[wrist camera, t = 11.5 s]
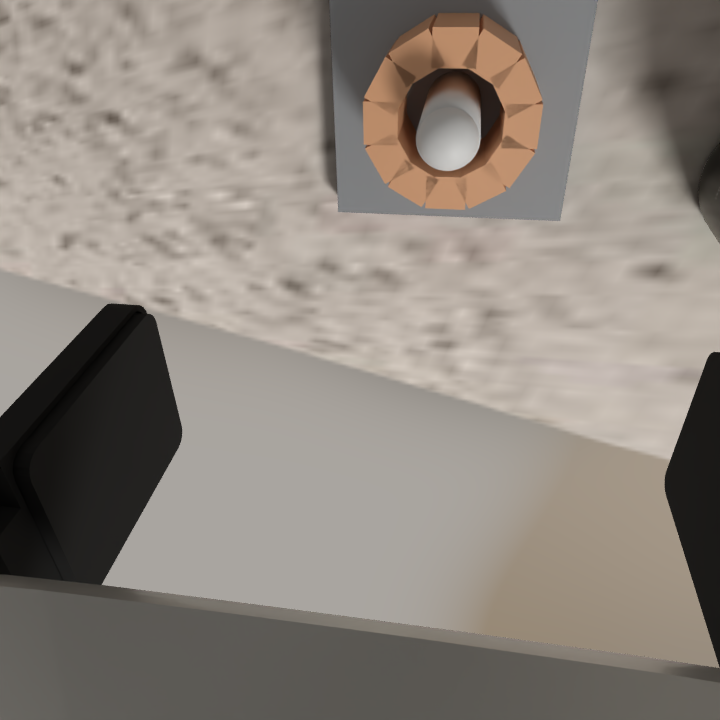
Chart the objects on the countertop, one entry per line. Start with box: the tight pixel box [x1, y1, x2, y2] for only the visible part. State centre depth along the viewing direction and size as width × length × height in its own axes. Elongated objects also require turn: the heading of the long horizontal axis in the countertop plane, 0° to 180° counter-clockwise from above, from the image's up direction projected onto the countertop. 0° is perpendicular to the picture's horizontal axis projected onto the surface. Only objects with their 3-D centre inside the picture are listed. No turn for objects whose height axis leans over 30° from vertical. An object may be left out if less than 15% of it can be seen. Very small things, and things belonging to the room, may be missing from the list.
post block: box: [329, 0, 598, 221], centre depth 26 cm, size 11×11×9 cm
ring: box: [363, 13, 543, 210], centre depth 27 cm, size 7×7×4 cm
